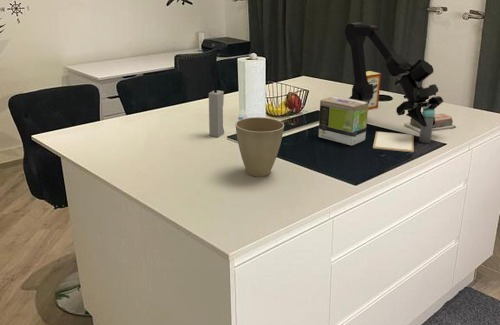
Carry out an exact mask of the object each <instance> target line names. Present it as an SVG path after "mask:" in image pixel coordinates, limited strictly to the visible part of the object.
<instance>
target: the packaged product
mask: <svg viewBox="0 0 500 325" xmlns="http://www.w3.org/2000/svg"><path fill="white" fill-rule="evenodd" d="M434 116H435V125H433V127H432V132H436V131H443V130H449V129H456V128H457V126H456V125H454V124H453V122H454V121H453V117H452V116H451V115H448V114H445V113H435V114H434ZM403 126H404V127H406V128H408V129H410V130H412V131H415V132H416V133H419V134H420V130H421V124H420V123H418V122H417V121H415V120H414V119H412V118H411V117H410V122H404V123H403Z"/></svg>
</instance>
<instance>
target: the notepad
mask: <svg viewBox="0 0 500 325" xmlns="http://www.w3.org/2000/svg"><path fill="white" fill-rule="evenodd" d="M414 140H415V137H414V134H411V133H410V134H409V133H408V134H407V133H396V132H385V131H377V130H376V131H375V135H374V141H373V144H372V149H376V150H384V151H385V150H387V151H398V152H406V153H414V152H415V148H414V144H415V143H414V142H415V141H414Z"/></svg>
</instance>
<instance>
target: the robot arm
mask: <svg viewBox="0 0 500 325" xmlns="http://www.w3.org/2000/svg"><path fill="white" fill-rule="evenodd" d="M344 36H345V40H346V42H347V44H348V45H349V46H350V52H351V60H352V70H353V78H354V79H353V80H354V83H353V85H352V89H351V96H350V97H348V98H349V99H354V100H359V101H365V102H368V104H369V102H370V100H371V99H372V98H373V94H374V92H373V84H369V83H368V81H367V76H366V72H367V69H366V59H365V50H364V43H365V42H366V41H365V40H366V38H367V37H368V38H369V39H370V41H371V43H372V44H373V45H374V47H375V48H376V49H377V51H378V52H379V54H380V55H381V57H382V58H383V60H384V64H385V68H386V70H387V72H388V74H389V75H390V76H391V77H398V78H395V82H394V84H393V85H394V86H398V87H399V86H400V88H401V89H402V91H403V94H404V95H403V99H407V100H406V101H403V102H401V103H400V104H399V105H398V106H397V107H396V110H395V111H396V113H397V116H403V115H405V113H406V111H407V113H406V117H409V118H410V119H411V118H412V119H414V120H415V121H417V122H418V123H420V124H421V125H422V126H424V127H426V126H427V125H426V122H425V119H424V117H423V115H422V113H423V111H422V110H423V109H433V110H436V108H437V107H439V106H440V105H442V103H444V100H443V98H442V96H439V95H438V96H436V95H437V93H438V92H439V87H438V86H437V84H435V83H434V84H429V85H428V87H423V86H419V84H418V83H422V82H423V81H425V80H426V79H428V77H430V76H431V75H432V74H434V70H435V69H434V67H433V65H432V64H430V63H429V62H428V61H426V60H424V58H419V59H418V60H417V61H416V62H415V63H414V64H411V63H409V62H408V60H407V59H406V58H404V56H402V55H401V54H399V53H397V52H396V50H394V48H393V47H392V45H391V43H390V42H389V41H388V40H387V38H386V37H385V35H384V34H383V33H382V32H381V28H380V27H379V26H378V25H369V24H367V25H366V24H364V23H363V22H351V23H348V24H347V25H346V26H345V27H344ZM399 76H401V77H400V78H399ZM433 125H435V116H434V120H433Z"/></svg>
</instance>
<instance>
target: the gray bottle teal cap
mask: <svg viewBox="0 0 500 325" xmlns="http://www.w3.org/2000/svg"><path fill="white" fill-rule="evenodd" d="M422 112H423V113H422ZM422 112H421V113H422V115H423V117H424V119H425V122H426V125H427V126H426V127H424V126H422V125H421V130H420V133H419V139H418V142H420V143H423V144H430V143H431V141H432V140H431V139H432V132H433V131H432V127H433V120H434V114H436V109H434V110H433V109H423V108H422Z"/></svg>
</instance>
